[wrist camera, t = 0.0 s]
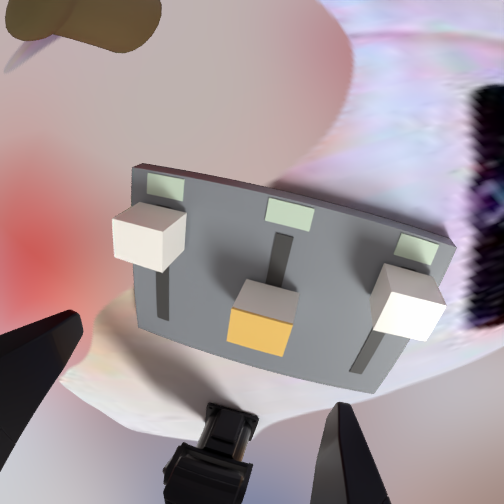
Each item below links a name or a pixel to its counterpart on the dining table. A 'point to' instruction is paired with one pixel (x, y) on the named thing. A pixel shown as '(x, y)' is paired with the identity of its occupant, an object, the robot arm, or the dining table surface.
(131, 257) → the block
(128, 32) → the cork
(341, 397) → the dining table surface
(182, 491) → the robot arm
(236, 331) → the block
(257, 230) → the panel
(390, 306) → the block
